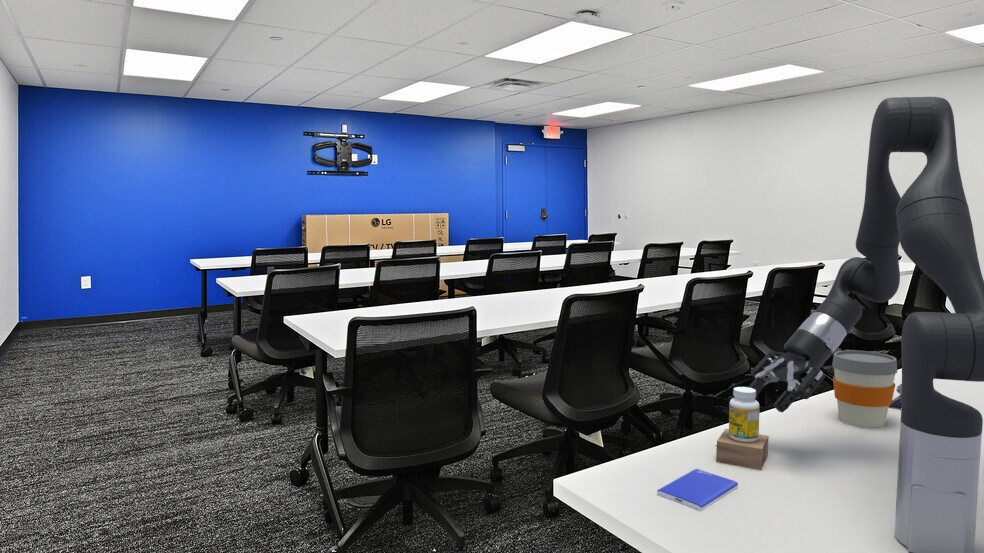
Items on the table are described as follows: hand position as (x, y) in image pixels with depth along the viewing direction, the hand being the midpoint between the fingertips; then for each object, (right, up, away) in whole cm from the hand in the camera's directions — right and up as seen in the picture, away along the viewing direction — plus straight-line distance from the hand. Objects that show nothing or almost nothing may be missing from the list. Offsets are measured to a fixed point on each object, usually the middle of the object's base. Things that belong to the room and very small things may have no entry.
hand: (762, 402), depth 119 cm
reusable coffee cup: (+31, -9, +20) cm, 38 cm away
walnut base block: (-4, -11, 0) cm, 11 cm away
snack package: (+50, -8, +31) cm, 59 cm away
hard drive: (-17, -13, -13) cm, 25 cm away
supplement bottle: (-4, -7, 0) cm, 8 cm away
